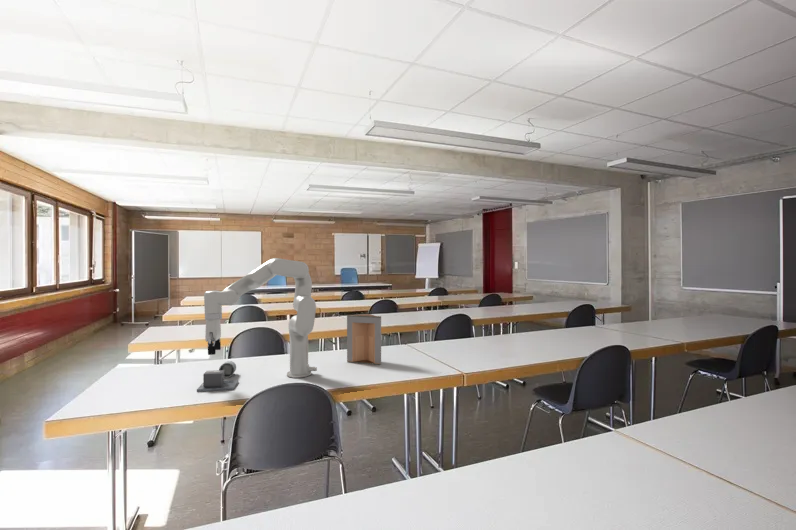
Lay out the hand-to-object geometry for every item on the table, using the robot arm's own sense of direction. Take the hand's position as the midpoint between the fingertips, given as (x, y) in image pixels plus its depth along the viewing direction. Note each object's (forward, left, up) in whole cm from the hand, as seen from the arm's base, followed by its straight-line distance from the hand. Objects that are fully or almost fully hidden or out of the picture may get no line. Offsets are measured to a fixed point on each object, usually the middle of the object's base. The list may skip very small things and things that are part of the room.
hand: (214, 352), depth 196 cm
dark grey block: (0, 0, -16) cm, 16 cm away
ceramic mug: (-1, -19, -17) cm, 25 cm away
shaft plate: (-2, 0, -17) cm, 17 cm away
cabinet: (-77, -35, -17) cm, 86 cm away
